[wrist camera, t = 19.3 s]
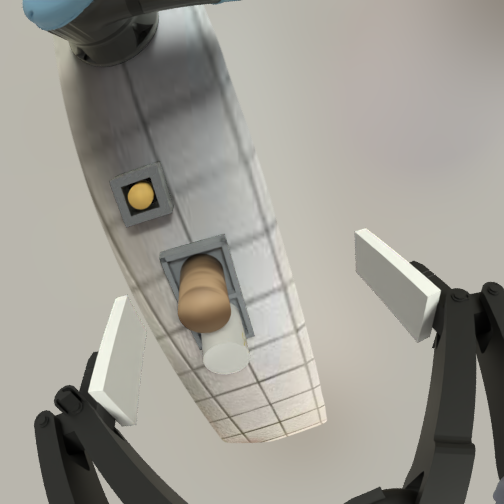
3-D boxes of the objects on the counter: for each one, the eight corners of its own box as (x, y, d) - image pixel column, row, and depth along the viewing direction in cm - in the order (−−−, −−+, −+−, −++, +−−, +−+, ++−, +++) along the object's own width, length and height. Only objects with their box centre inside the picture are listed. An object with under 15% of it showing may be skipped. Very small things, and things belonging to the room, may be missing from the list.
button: (128, 184, 43) (124, 189, 41) (151, 177, 44) (148, 181, 41) (136, 206, 45) (132, 212, 43) (158, 199, 45) (156, 204, 43)
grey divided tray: (160, 252, 51) (159, 258, 48) (224, 233, 51) (226, 239, 49) (199, 342, 61) (200, 350, 59) (252, 328, 62) (254, 336, 60)
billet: (174, 260, 51) (169, 299, 40) (217, 248, 51) (223, 284, 41) (188, 296, 55) (188, 338, 44) (228, 285, 55) (236, 325, 44)
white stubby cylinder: (230, 335, 61) (238, 377, 50) (194, 326, 58) (196, 369, 47) (246, 307, 58) (258, 348, 48) (208, 296, 55) (213, 337, 45)
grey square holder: (116, 176, 43) (109, 181, 40) (159, 161, 44) (156, 164, 40) (131, 219, 47) (126, 227, 43) (173, 205, 47) (171, 213, 44)
